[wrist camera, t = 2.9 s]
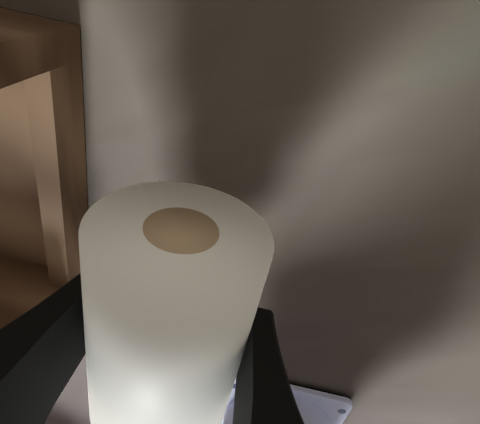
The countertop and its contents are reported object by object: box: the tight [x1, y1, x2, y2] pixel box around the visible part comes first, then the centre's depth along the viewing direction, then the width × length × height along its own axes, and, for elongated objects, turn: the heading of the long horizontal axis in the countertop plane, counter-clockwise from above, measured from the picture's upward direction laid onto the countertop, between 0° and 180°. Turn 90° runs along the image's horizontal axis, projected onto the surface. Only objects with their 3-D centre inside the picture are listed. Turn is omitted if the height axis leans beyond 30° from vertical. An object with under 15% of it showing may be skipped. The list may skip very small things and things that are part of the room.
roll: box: [78, 181, 274, 424], centre depth 12 cm, size 8×5×5 cm, turn 169°
